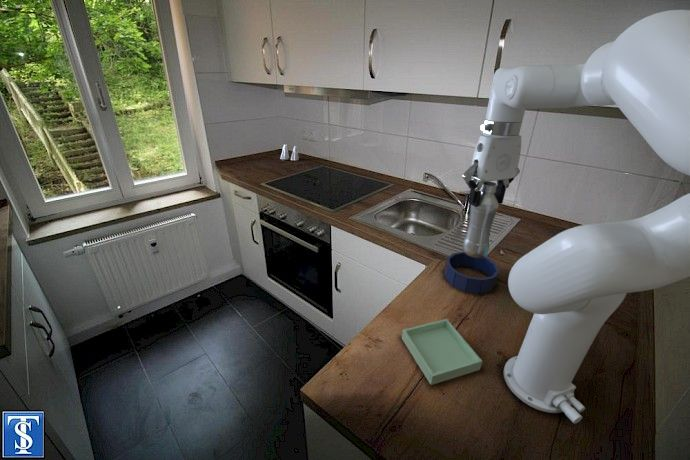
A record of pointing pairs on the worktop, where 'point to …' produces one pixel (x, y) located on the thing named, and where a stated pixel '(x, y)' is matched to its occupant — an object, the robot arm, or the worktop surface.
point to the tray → (440, 351)
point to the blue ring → (471, 282)
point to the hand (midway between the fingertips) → (485, 202)
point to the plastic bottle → (481, 222)
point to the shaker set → (286, 155)
